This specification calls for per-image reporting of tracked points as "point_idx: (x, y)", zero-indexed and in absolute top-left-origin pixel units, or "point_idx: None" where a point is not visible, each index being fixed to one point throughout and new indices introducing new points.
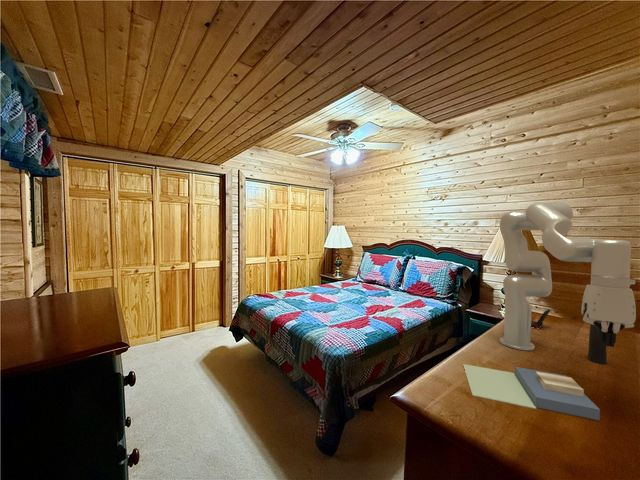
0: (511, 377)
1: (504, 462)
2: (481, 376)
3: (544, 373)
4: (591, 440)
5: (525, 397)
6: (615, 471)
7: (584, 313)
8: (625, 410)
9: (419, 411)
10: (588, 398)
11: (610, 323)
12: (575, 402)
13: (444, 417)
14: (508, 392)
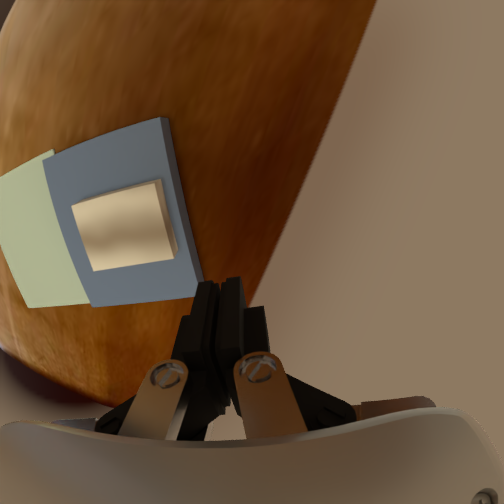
0: None
1: (102, 403)
2: (12, 226)
3: (89, 204)
4: None
5: None
6: None
7: (7, 431)
8: (281, 196)
9: (21, 362)
10: (188, 252)
11: (259, 430)
12: (157, 290)
13: (38, 365)
14: (57, 268)
